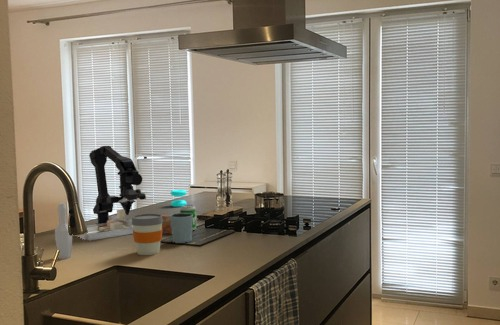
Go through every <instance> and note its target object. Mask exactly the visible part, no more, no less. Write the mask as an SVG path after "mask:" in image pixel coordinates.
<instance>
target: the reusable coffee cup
mask: <svg viewBox="0 0 500 325" xmlns="http://www.w3.org/2000/svg"><path fill="white" fill-rule="evenodd" d="M162 216H163V215H162V214H160V213H141V214H136V215H135V214H134V215H133V216H132V217H131V220H132V225H133V229H134V230H133V234H132V235H133V240H134V242H135V245H136V253H137V255H140V256H151V255H157V254H159V253H160V252H161V241H162V237H163V233H162V223H163V220H162Z"/></svg>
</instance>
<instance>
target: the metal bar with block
mask: <svg viewBox="0 0 500 325" xmlns="http://www.w3.org/2000/svg"><path fill="white" fill-rule="evenodd" d="M111 220H118V221H119V222H122V223H123V225H124V226H127V227H132V219H131V220H130V219H129V218H126V213H125V210H124V209H123V208H121V209H116V215H115V214H114V215H113V214H112V215H111Z"/></svg>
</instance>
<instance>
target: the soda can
mask: <svg viewBox="0 0 500 325" xmlns="http://www.w3.org/2000/svg"><path fill="white" fill-rule="evenodd" d="M179 208H180V209H179V211H180V212H179V213H191V214H193V220H192V232H194V231H195V230H196V229H197V215H196V214H197V208H196V207H195V205H192V204H188V205H184V206H182V207H179ZM193 230H194V231H193Z"/></svg>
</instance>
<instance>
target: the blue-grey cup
mask: <svg viewBox="0 0 500 325" xmlns="http://www.w3.org/2000/svg"><path fill="white" fill-rule="evenodd" d="M169 216H170V219H171V228H172V234H171V235H172V238H171V239H172V240H171V241H172V243H174V242H175V243H174V244H186V243H185V242H188V243H190V241H191V242H192V239H193V238H192V236H193V231H192V220H193V214H191V213H180V212H175V213H172V214H170V215H169Z"/></svg>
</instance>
